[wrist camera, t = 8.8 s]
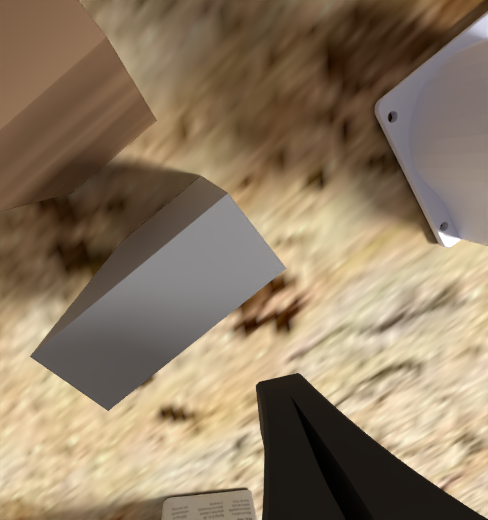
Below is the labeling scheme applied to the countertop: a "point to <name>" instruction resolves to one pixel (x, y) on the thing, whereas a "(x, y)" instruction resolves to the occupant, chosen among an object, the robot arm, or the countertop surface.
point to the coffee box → (211, 507)
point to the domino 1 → (60, 100)
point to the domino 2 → (159, 294)
